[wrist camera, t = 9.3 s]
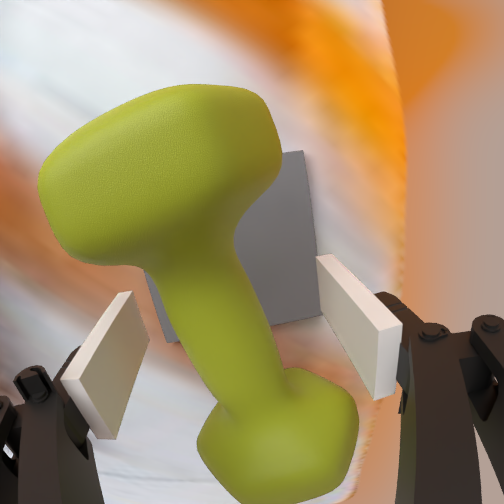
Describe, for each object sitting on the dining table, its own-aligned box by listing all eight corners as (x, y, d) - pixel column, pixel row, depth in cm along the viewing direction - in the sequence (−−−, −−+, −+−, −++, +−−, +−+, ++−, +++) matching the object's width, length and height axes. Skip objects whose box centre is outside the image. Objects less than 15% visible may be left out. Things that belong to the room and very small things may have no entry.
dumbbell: (340, 388, 17) (385, 482, 10) (215, 427, 17) (216, 527, 10) (249, 92, 12) (277, 24, 5) (81, 163, 12) (-27, 176, 5)
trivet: (168, 336, 24) (166, 342, 23) (127, 184, 20) (122, 185, 19) (319, 308, 24) (322, 314, 23) (299, 150, 20) (303, 150, 19)
